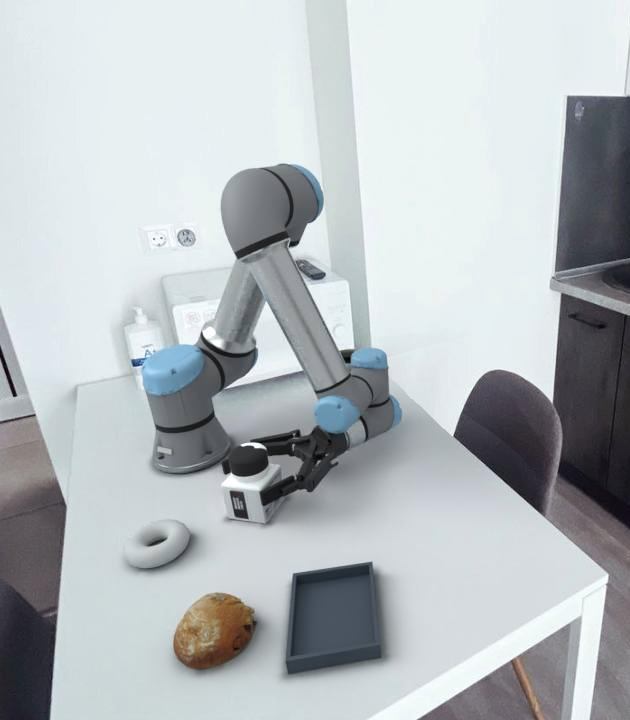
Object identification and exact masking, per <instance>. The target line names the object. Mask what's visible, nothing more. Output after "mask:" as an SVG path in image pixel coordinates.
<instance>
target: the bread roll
mask: <svg viewBox="0 0 630 720" xmlns="http://www.w3.org/2000/svg"><path fill="white" fill-rule="evenodd" d="M255 612H256V611H255V608H253V607H252V606H248V605H247V604H245V602H243V601H242V599H241V598H240V597H236V596H235V595H233V594H229V593H226V592H220V591H219V592H218V591H216V592H211V593H207V594H204V595H203V596H201V597H200V598H198V599H197V600H196V601H194V602H193V603H192V604H191V605H190V606H189V607H188V609H187V610H186V611H185V613H184V614H183V617H182V619H180V620H179V622H178V624H177V626H176V628H175V632H174V635H173V640H172V641H173V642H172V644H173V652H174V654H175V656H176V658H177V659H178V660H179V662H180V663H182V664H183V665H184V666H186V667H189V668H192V669H196V670H206V669H211V668H212V667H216V666H219V665H223V664H225V663H227V662H228V661H230V660H232V659H233V658H235V657H236V656H237V655H239V654H240V653H241V652H242V651H243V650H244V649H245V648H246V646H248V644H249V642H250V640H251V638H252V637H253V633H254V629H255V626H256V625H257V623H258V621H257V620H254V614H255Z"/></svg>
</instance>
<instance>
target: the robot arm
mask: <svg viewBox="0 0 630 720" xmlns="http://www.w3.org/2000/svg"><path fill="white" fill-rule="evenodd" d="M324 197H325V196H324V192H323V190H322V187H321V184H320V182H319V180H318V178H317V176H315V175H314V174H313V173H312V172H311V171H310V170H308V169H307V168H306V167H304V166H302V165H299V164H297V163H285V162H283V163H278V164H275V165H270V166H263V167H262V166H261V167H251V168H246V169H243V170H240V171H238V172H236V173H235V174H234V175H233V176H231V177H230V179H229V180H228V181H227V182H226V184H225V185H224V188H223V190H222V193H221V197H220V216H221V222H222V227H223V229H224V233H225V237H226V239H227V241H228V243H229V245H230V248H231V250H232V251H233V254H234V255H235V259H234V262H233V266H232V267H231V270H230V272H229V275H228V279H227V281H226V284H225V287H224V290H223V291H222V292H223V293H222V295H221V297H220V302H219V303H218V306H217V309H216V311H215V314H214V317H213V318H211V319H209V320H207V321H205V323H204V324H203V326H202V328H201V331H200V334H199V336H198V339H197V341H196V342H195V343H194V344H187V343H185V344H184V343H183V344H175V345H171V346H170V347H164V348H161V349H159V350H157V351H155V352H154V353H152V354H151V355H149V356H148V357H147V358H146V359H145V360H144V362H143V363H142V365H141V377H142V386H143V388H144V391H145V394H146V398H147V402H148V405H149V410H150V412H151V415H152V420H153V424H154V428H155V434H154V440H153V441H154V442H153V449H152V459H153V463H154V466H155V467H156V469H158V470H159V471H161V472H164V473H168V474H187V473H193V472H198V471H201V470H204V469H207V468H209V467H211V466H213V465H215V464H217V463H218V462H220V464H221V469H222V473H223V475H224V476H226V475H229V474H231V470H230V465H229V461H228V458H225V457H226V456H228V454H229V453H230V451H231V441H230V437H229V434H228V432H227V431H226V430H225V428H224V427H223V425H222V424H221V422H220V420H219V419H218V417H217V416H216V412H215V408H214V403H213V397H215V396H216V395H217V394H219V393H221V392H222V391H224V390H225V389H227V388H228V387H229V386H231V385H232V384H234V383H236V382H237V381H238V380H241V379H242V378H244V377H245V376H246V375H247V374H249V373H250V371H252V369H254V367H255V365H256V364H257V361H258V358H259V349H258V347H256V346H257V337H256V335H255V333H254V332H255V329H256V327H257V325H258V323H259V320H260V317H261V315H262V313H263V311H264V309H265V305H266V303H267V305H268V307H269V309H270V310H271V312H272V315H273V316H274V318H275V320H276V322H277V324H278V326H279V327H280V329H281V331H282V333H283V335H284V337H285V339H286V341H287V343H288V344H289V346H290V348H291V350H292V352H293V354H294V356H295V358H296V359H297V361H298V364H299V366H300V367H301V369H302V371H303V373H304V375H305V377H306V378H307V380H308V382H309V384H310V386H311V388H312V390H313V392H314V394H315V396H316V398H317V402H316V404H315V405H314V408H313V414H314V416H313V417H314V420H315V422H316V424H317V425H315V426H314V427H313V429H311V430H312V431H311V432H310V433H309V434H306V435H302V434H301V429H299V428H296V429H294V430H291V431H288V432H283V433H277V434H272V435H268V436H262V437H256V438H252V439H250V440H249V443H260V444H262V445H263V446H265V447H266V450H267V455H268V457H277V456H278V457H279V456H288V457H290V458H291V457H292V458H293V457H294V458H297V459H299V460H300V461H301V462H302V464H301V466H300V468H299V471H298V473H295V476H294V475H293V474H291V475H290V476H287V477H286V478H284V479H283V478H282V479H283V480H281V481H279V482H278V483H276V484H274V485H272V486H270V487H268V488H266V489H264V490H262V491H260V492H259V494H260V499H261V505H262V506H266V505H268V504H270V503H271V502H273V501H275V500H277V499H279V498H281V497H284V496H285V497H288V496H290V495H291V494H293V493H295V492H296V491H302V490H305V491H306V492H307V493H312V492H314V491H315V489H316V488H317V487H318V486H319V485H320V483H321V482H322V481H323V479H324V478H325V477H326V475H328V474H329V472H331V470H332V469H333V468H335V467H337V466H338V465H339V457H340V456H341V455H343V454H345V453H346V452H349V451H350V450H353V449H354V448H357V447H358V446H360V445H362V444H364V443H366V442H368V441H370V440H372V439H374V438H376V437H378V436H380V435H382V434H384V433H387V432H389V431H390V430H391V429H393V428H394V427H396V426H397V425H399V424H400V422H401V421H402V418H403V410H402V408H401V407H400V405H401V404H400V402H399V401H398V399H397V398H396V397H395V396H394V395H392V394H390V379H389V376H390V375H389V369H390V366H389V363H388V355H387V353H386V352H385V351H384V350H382V349H381V348H377V347H363V348H358V349H359V350H357V351H355V352H354V353H353V354H352V355H351V365H350V366H351V371H349V369H348V367H347V365H346V363H345V361H344V359H343V357H342V355H341V353H340V349H339V347H338V345H337V343H336V341H335V339H334V337H333V335H332V333H331V331H330V329H329V327H328V325H327V323H326V321H325V318H324V317H323V315H322V313H321V311H320V309H319V307H318V305H317V303H316V301H315V299H314V297H313V294H312V293H311V291H310V289H309V287H308V285H307V283H306V281H305V278H304V277H303V275H302V273H301V271H300V269H299V267H298V265H297V263H296V260H295V259H294V257H293V255H292V253H291V250H290V249H294V248H296V247H298V246H299V245H300V242H301V240H302V238H303V235H304V233H305V230H306V228H307V226H308V225H309V224H311V223H313V222H315V221H316V220H317V219H318V218H319V216H320V215H321V214H322V212H323V209H324V205H325V199H324ZM224 458H225V459H224Z"/></svg>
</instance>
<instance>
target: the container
mask: <svg viewBox="0 0 630 720" xmlns="http://www.w3.org/2000/svg"><path fill="white" fill-rule="evenodd" d="M227 459H228V461H229V465H230V470H231V473H230V475H229V476H228V477H226V479H225V480H224V481H222V483H221V485H220V487H221V491H222V492H221V493H222V497H223V502H224V505H225V509H226V515H227V518H228V519H230V520H235V521H236V520H237V521H243V522H250V523H257V524H264V525H265V524H267V523H268V522H269V520H270V519H271V518H272V517H273V515H274V514H275V512H276V511H277V510H278V509H279V507H280V506H281V504H282V503H284V500H285V499H286V496H284V497H281V498H279V499H277V500H275V501H273V502H271V503H270V504H268V505H266V506H262V505H261V499H260V494H259V492H260V491H262V490H264V489H266V488H268V487H270V486H272V485H274V484H276V483H278V482H279V481H281V480H283V473H282V467H281V465H280V464H274V463H270V461H269V456H268V455H267V450H266V447H265V446H263V445H262V444H260V443H250V442H245V443H241V444H239V445H238V446H235V447H233V448H232V449H230V451H229V452H228V454H227Z"/></svg>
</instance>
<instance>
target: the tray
mask: <svg viewBox="0 0 630 720" xmlns="http://www.w3.org/2000/svg"><path fill="white" fill-rule="evenodd" d="M375 586H376V584H375V575H374V566H373V561H367V562H366V561H365V562H360V563H359V562H358V563H354V564H353V563H352V564H345V565H340V566H333V567H327V568H319V569H313V570H307V571H300V572H293V573H292V576H291V591H290V602H289V615H288V626H287V635H286V636H287V637H286V649H285V660H284V661H285V666H286V673H287V675H293V674H297V673H303V672H308V671H313V670H319V669H326V668H331V667H335V666H341V665H347V664H352V663H353V664H354V663H358V662H363V661H370V660H374V659H381V658H382V651H381V649H382V648H381V638H380V629H379V628H380V627H379V619H378V618H379V617H378V608H377V596H376V587H375Z"/></svg>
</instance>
